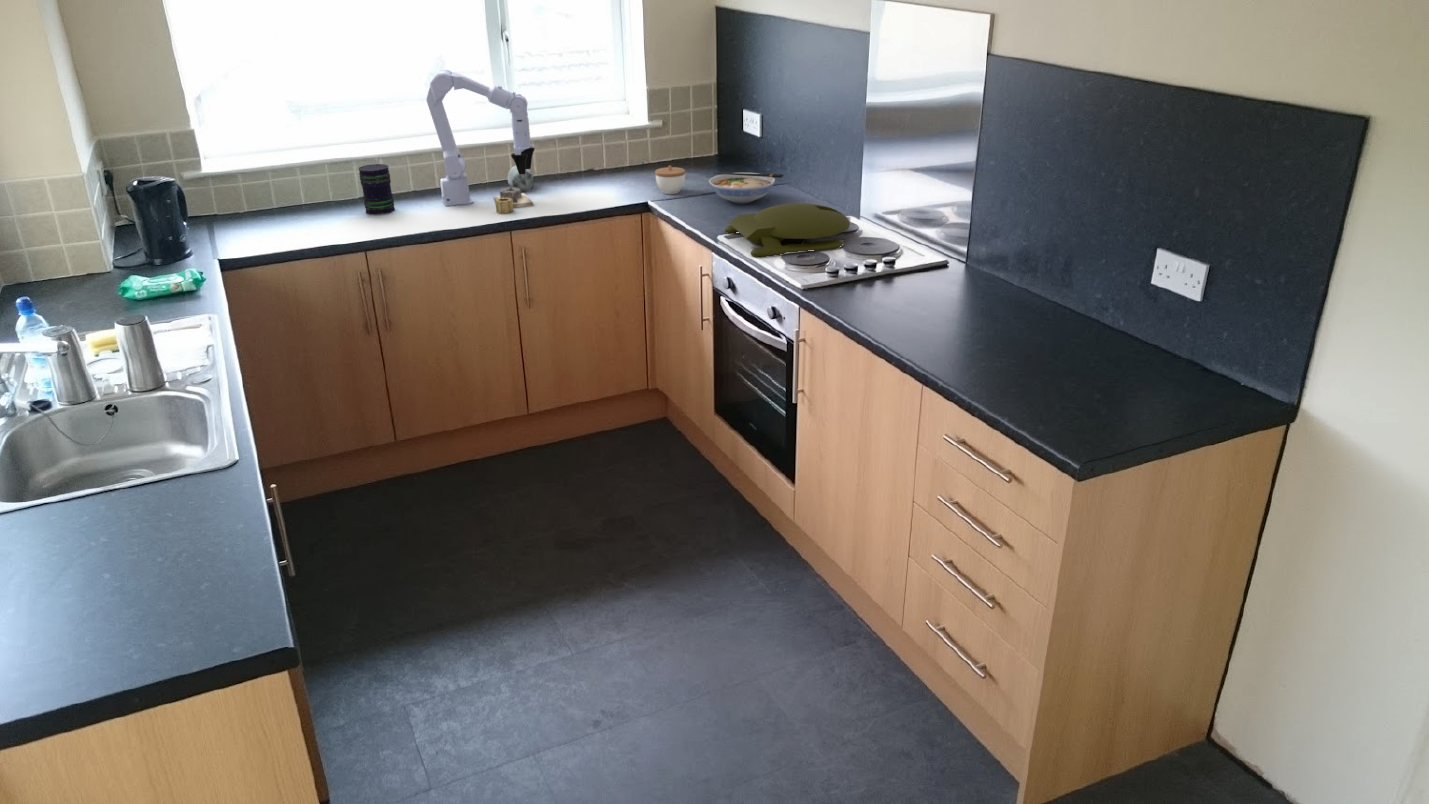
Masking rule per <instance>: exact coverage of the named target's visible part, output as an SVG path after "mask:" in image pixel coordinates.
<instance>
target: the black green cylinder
mask: <svg viewBox="0 0 1429 804" xmlns="http://www.w3.org/2000/svg"><path fill="white" fill-rule="evenodd" d="M358 172H359V180H360V185H361V187H362V192H363V193H362V194H363V196H362V197H363V205H364V209H365V214H367V215H372V216H377V215H379V216H380V215H386V214H390V213H393V212H395V211H396V208H395V204H394V203H395V200H394V194H393V193H392V188H391V187H392V186H391V173H390V170H389V165H387V164H382V163H381V164H380V163H378V164H377V163H375V164H367V165H363V166H359V167H358Z"/></svg>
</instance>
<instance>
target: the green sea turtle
mask: <svg viewBox="0 0 1429 804" xmlns="http://www.w3.org/2000/svg"><path fill="white" fill-rule="evenodd" d="M728 224H729V225H727V226H725V228H724V232H725V233H726V232H728V233H736V232H739V233H738V234H741V235H742V236H743V237H744V238H745V239H747V240H748V241H750V242H752V243H753V244H755V245H756V246H761V245H762V247H756V248H753V249H751V250H750V255H751V256H752V257H754V258H758V257H759V258H767V257H766V256H770V257H775V256H774V255H779V256H781V255H780V254H784V253H786V252H798V251H808V250H814V251H816V252H821V251H823V252H824V251H832V250H833V249H834V250H837V249H836V248H839V247H840V246H842V244H843V243H844V241H842V240H839V239H829V240H821V241H820V240H819V241H811V242H810V241H809V242H803V243H802V242H801V243H800V242H799V243H792V244H790V243H789V244H781V242H782V241H783V240H784V239H795V240H799V239H800V240H803V239H804V240H805V239H806V240H807V239H820V238H826V237H831V236H835V235H838V234H841V233H843V232H845V231H847V230H848V229H849V228H850V225H851V224H850V220H849V218H848V217H847V216H846V215H845V214H843V213H842V212H840V211H839V210H837V209H834V208H832V207H829V206H824V205H821V204H815V203H807V202H806V203H805V202H803V203H802V202H795V203H783V204H777V205H773V206H769V207H767V208H764V209H761V210H760V211H758V212H753V213H743V214H738V215H737V216H736V217H735V218H733V220H730V221H729V222H728ZM728 233H727V234H728Z"/></svg>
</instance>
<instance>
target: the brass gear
mask: <svg viewBox="0 0 1429 804" xmlns="http://www.w3.org/2000/svg"><path fill="white" fill-rule="evenodd" d="M494 204H495V210H496V211H495V212H496V213H498V214H504V215H505V214H509V213H513V212H514V208H513V202H512V199H510V198H499V199H496V200H495V201H494Z"/></svg>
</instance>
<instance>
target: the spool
mask: <svg viewBox="0 0 1429 804" xmlns="http://www.w3.org/2000/svg"><path fill="white" fill-rule="evenodd" d="M507 182H508V185H509V187H512V188H519V189H521V192H528V191H530V190H531V188H532V187H533V183H534V175H533V172H532V170H531V169H526V172H525V174H519V173H518V170H517V167H516V165H514V166H512V167H511V168H510V169H509V170H508V173H507Z"/></svg>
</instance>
